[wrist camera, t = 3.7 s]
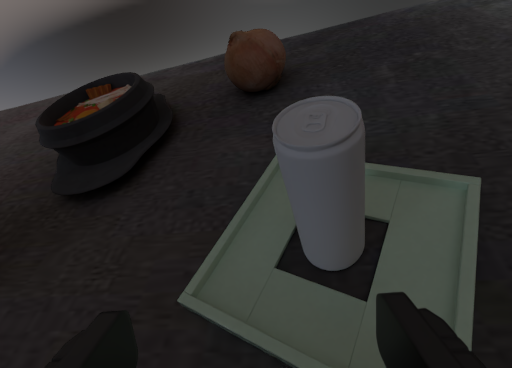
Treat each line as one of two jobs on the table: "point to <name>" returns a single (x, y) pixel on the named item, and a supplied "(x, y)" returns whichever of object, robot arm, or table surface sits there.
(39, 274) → the table surface
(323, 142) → the beverage can
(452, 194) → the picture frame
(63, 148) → the casserole
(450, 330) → the robot arm
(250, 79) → the onion
